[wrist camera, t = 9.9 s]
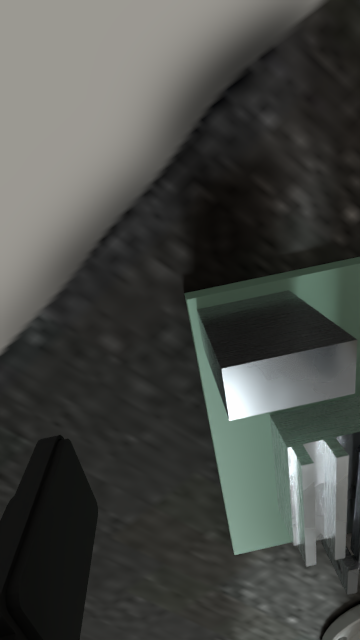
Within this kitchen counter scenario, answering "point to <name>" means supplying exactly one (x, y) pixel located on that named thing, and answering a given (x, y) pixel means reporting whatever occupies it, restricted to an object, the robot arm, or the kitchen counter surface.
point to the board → (255, 431)
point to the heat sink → (295, 411)
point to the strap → (356, 521)
